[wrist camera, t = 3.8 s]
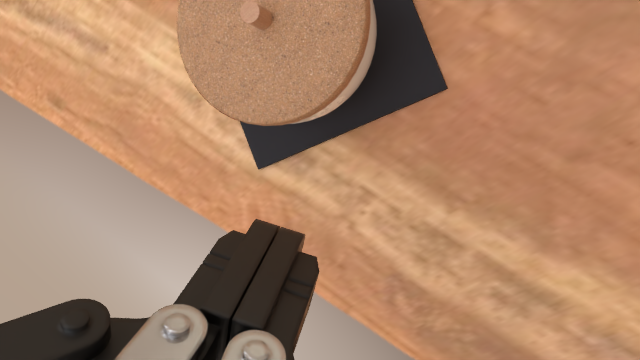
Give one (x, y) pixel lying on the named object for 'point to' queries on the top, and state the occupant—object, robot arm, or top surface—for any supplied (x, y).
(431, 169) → the top surface
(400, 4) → the runner mat
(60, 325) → the robot arm
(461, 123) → the top surface
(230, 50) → the trinket box
